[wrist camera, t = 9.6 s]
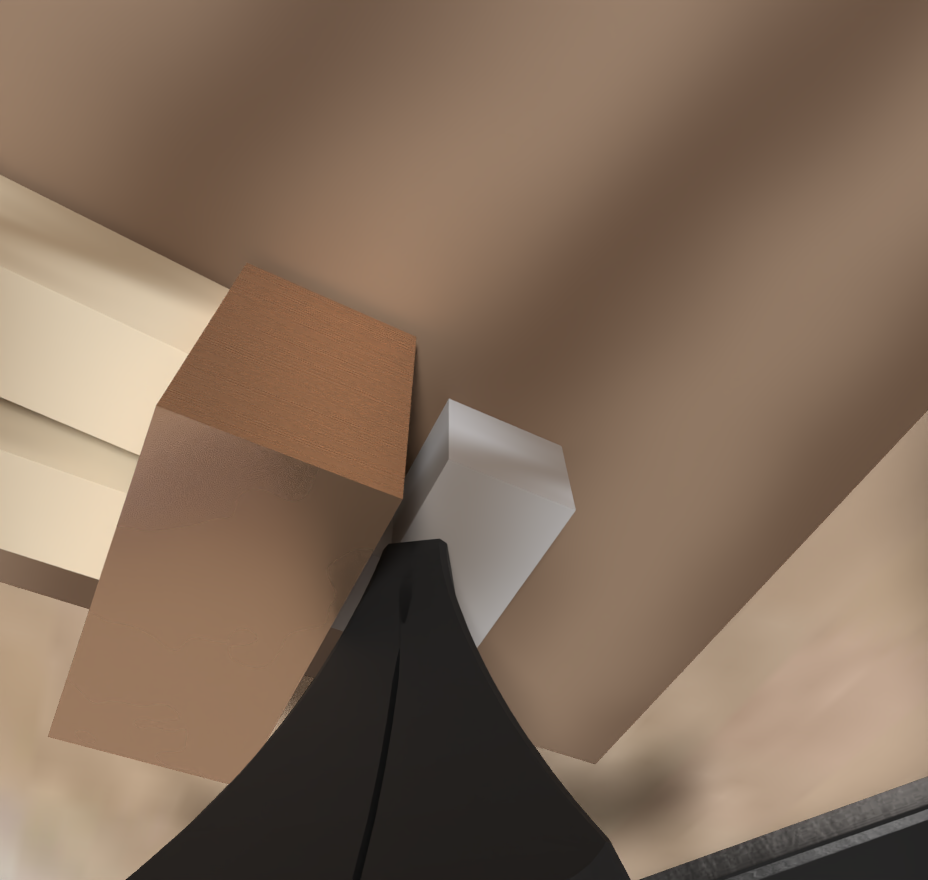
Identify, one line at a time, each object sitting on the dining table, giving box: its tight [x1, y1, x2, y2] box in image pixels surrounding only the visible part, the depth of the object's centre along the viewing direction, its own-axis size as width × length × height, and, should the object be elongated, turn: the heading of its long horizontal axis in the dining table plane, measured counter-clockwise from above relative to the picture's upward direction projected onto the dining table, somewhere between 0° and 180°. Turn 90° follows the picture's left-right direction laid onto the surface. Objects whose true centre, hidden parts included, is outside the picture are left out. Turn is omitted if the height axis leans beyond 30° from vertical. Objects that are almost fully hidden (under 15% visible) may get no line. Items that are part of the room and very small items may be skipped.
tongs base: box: [0, 0, 928, 764], centre depth 12 cm, size 26×18×4 cm
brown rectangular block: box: [48, 263, 416, 784], centre depth 12 cm, size 3×6×5 cm, turn 154°
